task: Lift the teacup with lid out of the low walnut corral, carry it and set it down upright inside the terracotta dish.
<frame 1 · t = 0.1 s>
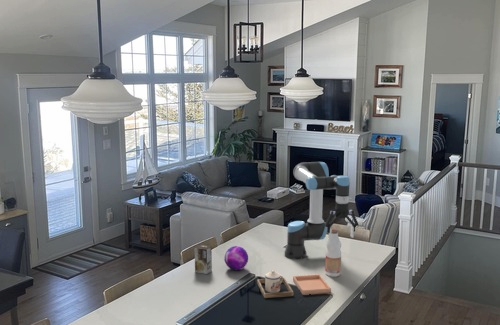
hand: (340, 237, 294), 28 cm above the kitchen island, fingers open, 13 cm apart
teacup with lid: (274, 289, 289), resting in walnut corral
fruit juice: (332, 274, 312), on the kitchen island
coffee box: (203, 271, 315), on the kitchen island
walnut corral: (274, 289, 289), on the kitchen island
decorative orb: (236, 269, 319), on the kitchen island
terracotta dish: (311, 286, 293), on the kitchen island
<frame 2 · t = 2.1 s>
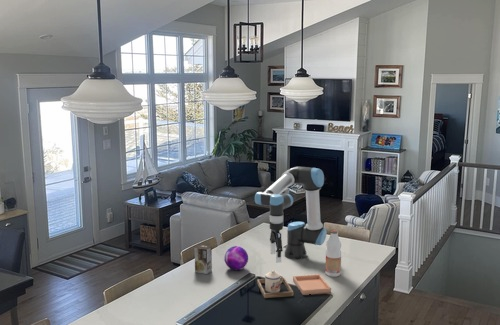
hand: (275, 258, 286), 19 cm above the kitchen island, fingers open, 13 cm apart
nothing on the kitchen island moved.
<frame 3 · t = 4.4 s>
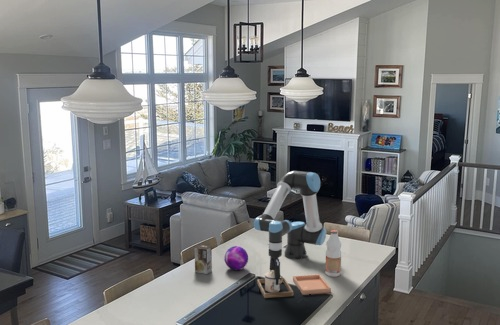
hand: (274, 286, 288), 2 cm above the kitchen island, fingers closed on teacup with lid, 9 cm apart
teacup with lid: (274, 289, 289), resting in walnut corral, touching gripper
everything else where it was.
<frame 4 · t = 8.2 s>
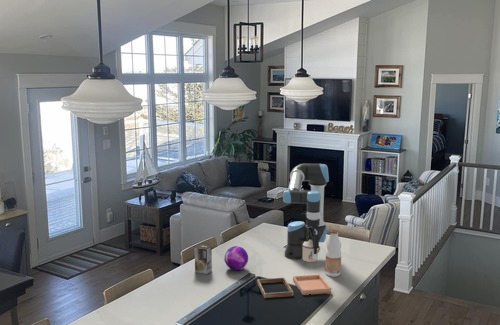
hand: (312, 256, 290), 19 cm above the kitchen island, fingers closed on teacup with lid, 9 cm apart
teacup with lid: (311, 259, 291), point 17 cm above the kitchen island, touching gripper
everything else where it was.
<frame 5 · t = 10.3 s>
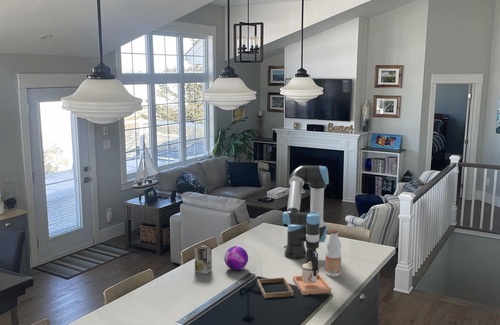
hand: (311, 277, 292), 6 cm above the kitchen island, fingers closed on teacup with lid, 9 cm apart
teacup with lid: (311, 280, 293), point 3 cm above the kitchen island, touching gripper
everything else where it was.
when the fingers open (3 cm above the kitchen island, at t = 11.8 s): teacup with lid stays where it is, resting on terracotta dish.
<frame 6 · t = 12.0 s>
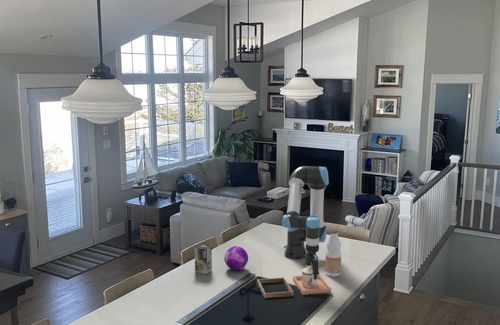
hand: (311, 280, 292), 4 cm above the kitchen island, fingers open, 11 cm apart
teacup with lid: (311, 285, 294), point 1 cm above the kitchen island, touching terracotta dish
everything else where it was.
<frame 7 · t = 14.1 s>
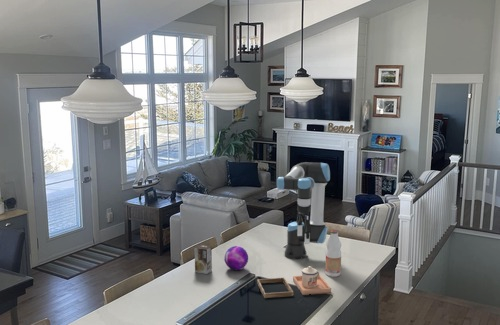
hand: (303, 239, 296), 26 cm above the kitchen island, fingers open, 13 cm apart
nothing on the kitchen island moved.
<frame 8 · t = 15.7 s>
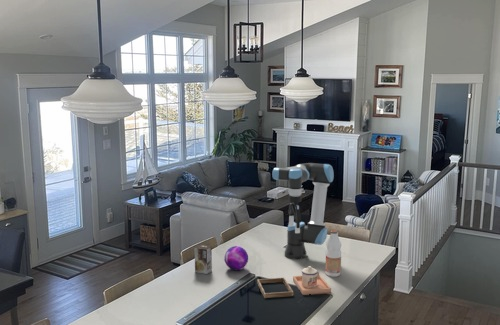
hand: (294, 229, 300), 31 cm above the kitchen island, fingers open, 13 cm apart
nothing on the kitchen island moved.
at the end: teacup with lid inside the target area on the terracotta dish (0.7 cm from its centre), point 0.6 cm above the terracotta dish's base; teacup with lid tilted 0°; the gripper is holding nothing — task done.
